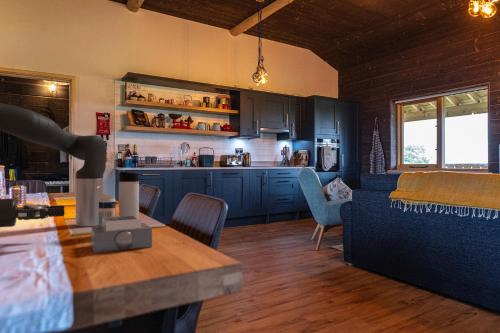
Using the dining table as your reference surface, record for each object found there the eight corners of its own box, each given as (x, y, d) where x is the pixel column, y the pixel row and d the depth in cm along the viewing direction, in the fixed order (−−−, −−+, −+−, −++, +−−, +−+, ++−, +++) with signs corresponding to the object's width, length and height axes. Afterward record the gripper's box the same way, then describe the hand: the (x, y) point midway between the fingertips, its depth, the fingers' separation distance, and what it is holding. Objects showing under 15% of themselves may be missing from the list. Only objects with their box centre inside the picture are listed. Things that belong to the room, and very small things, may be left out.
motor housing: (91, 245, 91) (91, 217, 91) (143, 239, 98) (144, 214, 98) (94, 254, 81) (94, 223, 81) (152, 247, 88) (152, 219, 88)
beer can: (118, 236, 103) (118, 197, 103) (110, 239, 99) (110, 198, 99) (103, 235, 104) (104, 197, 104) (95, 239, 99) (95, 198, 99)
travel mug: (113, 233, 108) (114, 171, 108) (126, 229, 114) (127, 171, 114) (130, 234, 106) (130, 171, 106) (142, 230, 112) (142, 171, 112)
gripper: (-11, 200, 81) (64, 199, 89) (-2, 197, 94) (64, 195, 102) (-12, 231, 81) (64, 227, 89) (-3, 224, 94) (64, 220, 102)
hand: (64, 210), depth 95 cm, fingers open, 8 cm apart
